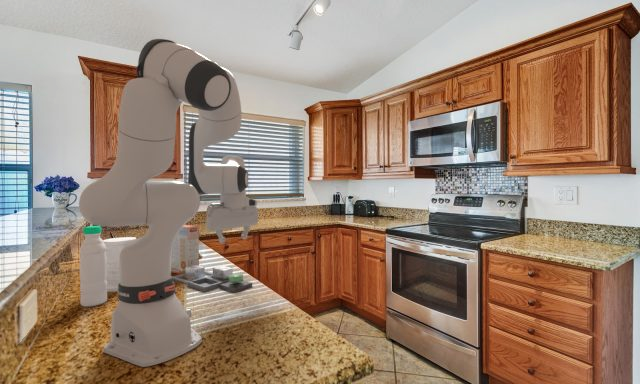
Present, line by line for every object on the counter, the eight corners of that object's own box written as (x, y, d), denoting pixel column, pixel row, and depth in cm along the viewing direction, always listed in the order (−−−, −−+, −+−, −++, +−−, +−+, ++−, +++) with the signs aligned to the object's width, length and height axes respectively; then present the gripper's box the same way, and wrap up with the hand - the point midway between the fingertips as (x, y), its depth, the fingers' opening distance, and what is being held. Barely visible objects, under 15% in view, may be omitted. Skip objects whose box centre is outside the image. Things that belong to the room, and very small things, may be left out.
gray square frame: (217, 279, 126) (217, 274, 126) (188, 287, 116) (188, 282, 116) (200, 274, 133) (200, 269, 133) (172, 281, 124) (172, 276, 124)
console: (252, 289, 113) (252, 282, 113) (233, 296, 106) (233, 288, 106) (238, 285, 118) (238, 279, 118) (220, 291, 111) (219, 284, 111)
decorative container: (119, 281, 124) (118, 236, 124) (145, 282, 123) (144, 237, 122) (93, 291, 113) (92, 241, 113) (122, 292, 111) (121, 242, 111)
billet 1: (204, 279, 124) (204, 267, 124) (195, 282, 121) (195, 269, 121) (195, 276, 128) (194, 264, 128) (185, 279, 125) (185, 266, 125)
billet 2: (232, 281, 119) (232, 268, 119) (223, 283, 116) (223, 270, 116) (221, 278, 123) (221, 265, 123) (212, 280, 120) (212, 267, 120)
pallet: (239, 284, 119) (239, 277, 119) (204, 295, 107) (204, 287, 107) (222, 279, 126) (222, 272, 126) (187, 289, 114) (187, 281, 114)
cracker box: (200, 273, 134) (199, 225, 134) (187, 277, 129) (186, 227, 129) (180, 269, 142) (179, 223, 142) (168, 272, 137) (167, 225, 136)
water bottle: (93, 308, 97) (91, 228, 96) (74, 306, 98) (72, 227, 98) (112, 300, 104) (111, 225, 103) (94, 298, 105) (93, 224, 105)
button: (246, 286, 112) (246, 275, 112) (234, 290, 108) (234, 278, 108) (237, 283, 115) (237, 272, 115) (226, 287, 111) (225, 276, 111)
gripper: (212, 203, 101) (213, 246, 101) (260, 200, 117) (261, 237, 118) (201, 203, 105) (202, 244, 105) (249, 200, 121) (250, 235, 121)
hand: (233, 240), depth 112 cm, fingers open, 8 cm apart
